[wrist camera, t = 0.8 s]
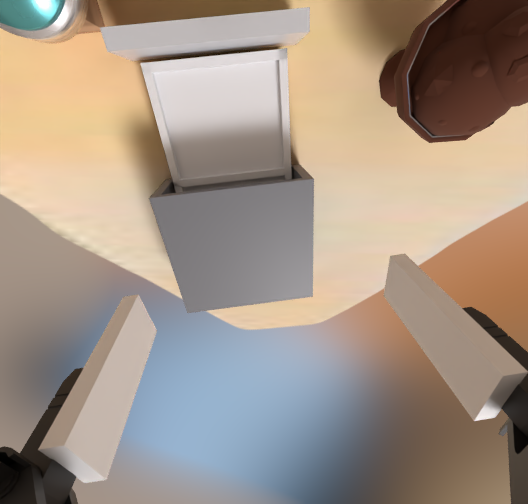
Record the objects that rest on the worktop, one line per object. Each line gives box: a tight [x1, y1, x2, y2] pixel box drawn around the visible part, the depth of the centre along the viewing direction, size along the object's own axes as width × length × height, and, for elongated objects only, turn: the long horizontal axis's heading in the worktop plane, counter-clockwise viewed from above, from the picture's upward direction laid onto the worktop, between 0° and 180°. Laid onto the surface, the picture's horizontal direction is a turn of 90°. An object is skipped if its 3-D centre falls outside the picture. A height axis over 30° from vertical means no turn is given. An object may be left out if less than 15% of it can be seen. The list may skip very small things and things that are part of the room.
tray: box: [100, 7, 310, 193], centre depth 27 cm, size 16×17×6 cm
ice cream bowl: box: [379, 0, 528, 143], centre depth 22 cm, size 11×11×15 cm
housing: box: [149, 165, 314, 313], centre depth 33 cm, size 16×17×7 cm
